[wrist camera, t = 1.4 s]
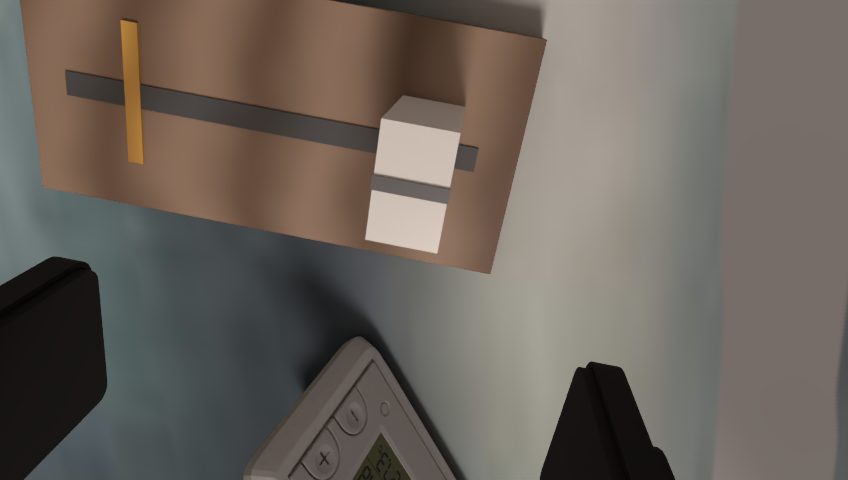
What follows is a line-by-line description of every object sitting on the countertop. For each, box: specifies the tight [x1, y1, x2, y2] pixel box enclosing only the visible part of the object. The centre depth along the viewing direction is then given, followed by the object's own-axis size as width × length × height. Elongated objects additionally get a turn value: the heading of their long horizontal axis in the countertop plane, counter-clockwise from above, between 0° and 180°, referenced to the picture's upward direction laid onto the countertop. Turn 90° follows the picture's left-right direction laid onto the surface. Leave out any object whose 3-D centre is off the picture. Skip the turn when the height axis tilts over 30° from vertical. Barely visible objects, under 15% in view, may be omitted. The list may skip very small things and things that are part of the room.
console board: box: [20, 0, 547, 274], centre depth 28 cm, size 25×12×2 cm, turn 81°
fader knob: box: [365, 95, 466, 254], centre depth 24 cm, size 3×5×6 cm, turn 171°
